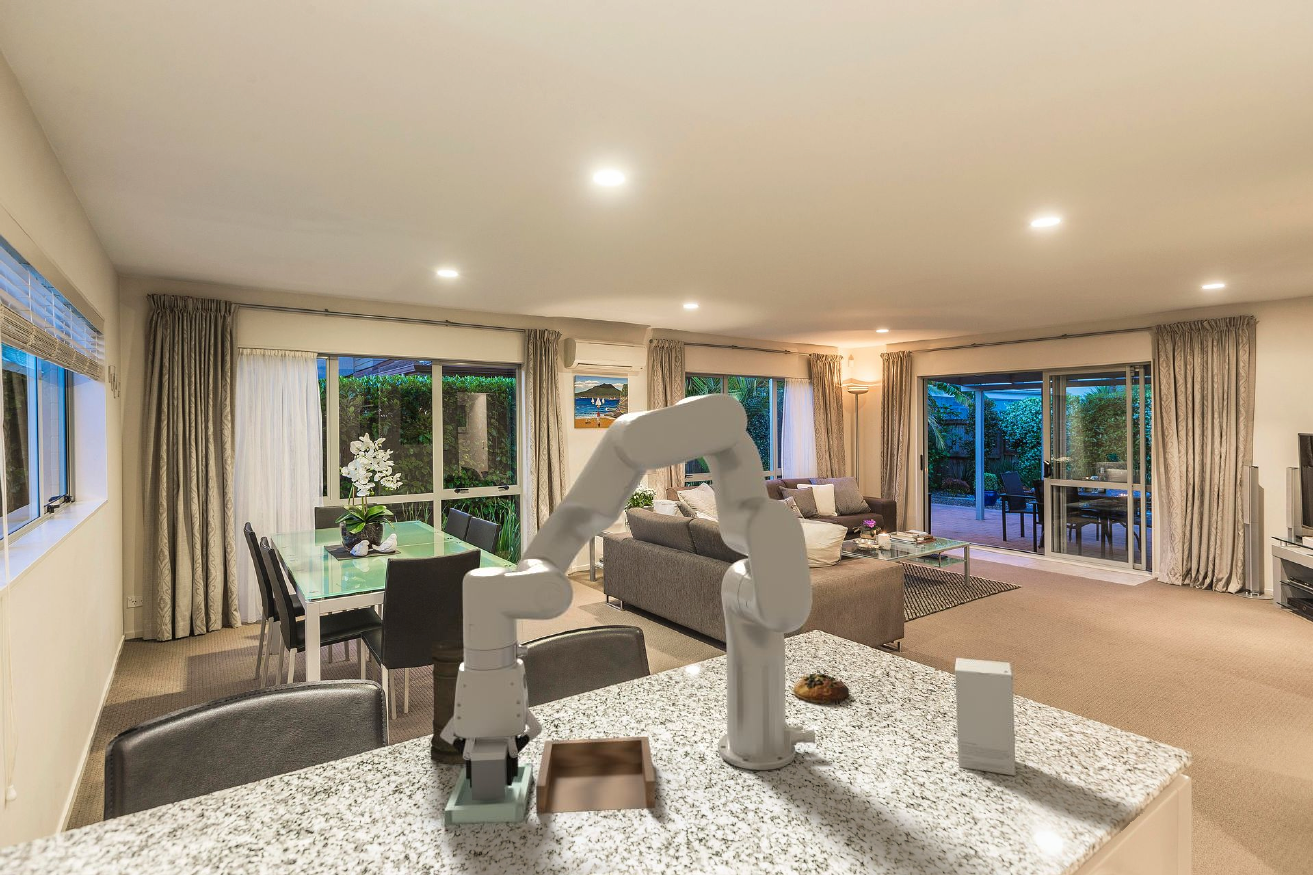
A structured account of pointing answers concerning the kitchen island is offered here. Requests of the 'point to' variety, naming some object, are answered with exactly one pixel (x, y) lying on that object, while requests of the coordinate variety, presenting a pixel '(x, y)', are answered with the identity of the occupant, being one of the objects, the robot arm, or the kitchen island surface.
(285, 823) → the kitchen island surface
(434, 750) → the container
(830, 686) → the bread roll
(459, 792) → the tray
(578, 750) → the bay
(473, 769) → the off-white upright block
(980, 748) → the skincare box
